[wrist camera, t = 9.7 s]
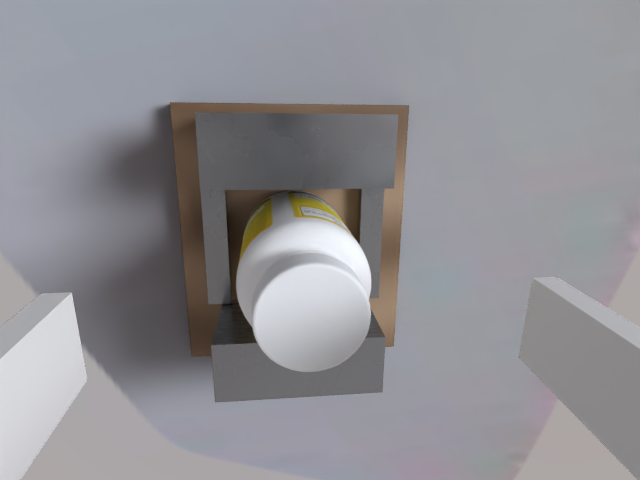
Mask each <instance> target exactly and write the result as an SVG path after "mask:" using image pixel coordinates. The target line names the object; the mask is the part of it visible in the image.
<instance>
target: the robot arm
mask: <svg viewBox="0 0 640 480" xmlns="http://www.w3.org/2000/svg"><path fill="white" fill-rule="evenodd" d="M519 358H520V359H521V360H522V361H523V362H524V363H525V365H526V366H527V367H528V368H529V369H530V370H531V371H532V372H533V373H534V374H535V375H536V376H537V377H538V378H539V379H540V380H541V381H542V382H543V383H544V384H545V385H546V386H547V387H548V388H549V389H550V390H551V391H552V392H553V393H554V394H555V395H556V396H557V397H558V398H559V399H560V400H561V401H562V403H563V404H564V405H565V406H566V407H567V408H568V409H569V410H571V412H572V413H573V414H574V415H575V416H576V417H577V418H578V419H579V420H580V421H581V422H582V423H583V424H584V425H585V426H586V427H587V428H588V429H589V430H590V431H591V432H592V433H593V434H594V435H595V436H596V437H597V438H598V439H599V440H600V442H602V444H603V445H604V446H605V447H607V449H608V450H609V451H610V452H611V453H612V454H613V455H614V456H615V457H616V458H617V459H618V460H619V461H620V462H621V463H622V464H623V465H624V466H625V467H626V468H627V469H628V470H629V471H630V472H631V473H632V474H633V475H634V476H635V477H636V478H637V480H640V327H638V326H637V325H635V324H633V323H632V322H630V321H628V320H627V319H625V318H623V317H622V316H620V315H619V314H617V313H615V312H614V311H612V310H610V309H609V308H607V307H605V306H604V305H602V304H600V303H599V302H597V301H595V300H594V299H592V298H591V297H589V296H587V295H586V294H584V293H582V292H581V291H579V290H577V289H576V288H574V287H572V286H571V285H569V284H567V283H566V282H564V281H562V280H561V279H559V278H558V277H538V278H533V279H532V284H531V290H530V296H529V301H528V307H527V313H526V318H525V324H524V330H523V335H522V341H521V347H520V352H519ZM86 382H87V374H86V369H85V364H84V358H83V352H82V347H81V341H80V336H79V330H78V325H77V319H76V314H75V308H74V303H73V297H72V292H70V293H41V294H40V295H39V296H38V297H36V298H35V299H34V300H33V301H31V302H30V303H29V304H28V305H27V306H25V307H24V308H23V309H22V310H20V311H19V312H18V313H17V314H16V315H14V316H13V317H12V318H11V319H9V320H8V321H7V322H6V323H4V324H3V325H2V326H1V327H0V480H21V478H22V477H23V475H24V474H25V472H26V470H27V469H28V468H29V466H30V465H31V463H32V462H33V460H34V459H35V457H36V456H37V454H38V453H39V451H40V450H41V449H42V447H43V446H44V444H45V443H46V441H47V439H48V438H49V437H50V435H51V434H52V432H53V431H54V429H55V428H56V426H57V425H58V423H59V422H60V420H61V419H62V417H63V416H64V414H65V413H66V411H67V410H68V408H69V407H70V405H71V404H72V402H73V401H74V399H75V398H76V396H77V395H78V394H79V392H80V391H81V389H82V388H83V386H84V384H85V383H86Z"/></svg>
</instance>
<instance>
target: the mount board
mask: <svg viewBox="0 0 640 480" xmlns="http://www.w3.org/2000/svg"><path fill="white" fill-rule="evenodd" d="M170 109H171V121H172V133H173V144H174V156H175V168H176V180H177V191H178V203H179V215H180V227H181V238H182V250H183V262H184V273H185V285H186V297H187V309H188V320H189V332H190V344H191V356H209V355H212V351H211V344H212V340H213V336H214V333H215V329H216V325H217V322H218V318H219V314H220V310H221V307H222V304H208V290H207V275H206V261H205V247H204V233H203V218H202V204H201V190H200V179H199V165H198V151H197V137H196V122H195V112H201V113H299V114H397V115H398V129H397V146H396V163H395V181H394V189H384V204H383V224H382V243H381V263H380V282H379V298H369V303H370V308H371V310H372V312H373V314H374V316H375V318H376V320H377V322H378V324H379V325H380V327H381V329H382V331H383V333H384V335H385V347H392V346H394V333H395V317H396V302H397V286H398V270H399V255H400V239H401V224H402V208H403V192H404V177H405V161H406V146H407V130H408V114H409V105H332V104H252V103H173V102H170ZM285 191H304V192H308V193H311V194H314V195H316V196H318V197H320V198H322V199H323V200H324V201H326V202H327V203H328V204H329V205H330V206H331V207H332V208H333V209H334V210H335V211H336V213H337V214H338V216H339V217H340V218H341V220H342V221H343V222H344V224H345V225H346V227H347V228H348V230H349V231H350V232H351V234H352V235H353V237H354V238H355V239H356V241H357V223H358V194H359V189H284V190H227V205H228V224H229V243H230V262H231V281H232V299H238V298H237V291H236V276H237V269H238V264H239V259H240V253H241V248H242V242H243V235H244V231H245V227H246V224H247V221H248V219H249V217H250V215H251V214H252V212H253V211H254V210H255V208H256V207H257V206H258V205H259V204H260V203H261V202H263V201H264V200H265V199H267V198H269V197H270V196H272V195H274V194H277V193H280V192H285Z"/></svg>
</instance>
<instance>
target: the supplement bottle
mask: <svg viewBox="0 0 640 480" xmlns="http://www.w3.org/2000/svg"><path fill="white" fill-rule="evenodd" d="M236 291H237V298H238V302H239V305H240V307H241V310H242V312H243V314H244V316H245V318H246V319H247V321H248V322H249V324H250V325H251V326H252V328H253V333H254V336H255V339H256V341H257V343H258V345H259V347H260V348H261V350H262V351H263V352H264V353H265V354H266V355H267V356H268V357H269V358H270V359H271V360H272V361H274V362H275V363H277V364H279V365H281V366H282V367H285V368H288V369H290V370H294V371H300V372H317V371H322V370H326V369H329V368H332V367H335V366H337V365H339V364H341V363H342V362H344V361H345V360H347V359H348V358H349V357H351V356H352V355H353V354H354V353H355V352H356V351H357V350H358V348H359V347H360V346H361V344H362V343H363V341H364V340H365V337H366V335H367V333H368V330H369V326H370V320H371V310H370V303H369V297H370V292H371V272H370V268H369V264H368V261H367V259H366V256H365V254H364V252H363V250H362V248H361V247H360V245H359V244H358V242H357V241H356V239H355V238H354V237H353V235H352V234H351V232H350V231H349V230H348V228H347V227H346V225H345V224H344V222H343V221H342V220H341V218H340V217H339V216H338V214H337V213H336V211H335V210H334V209H333V208H332V207H331V206H330V205H329V204H328V203H327V202H326V201H324V200H323V199H322V198H320V197H318V196H316V195H314V194H311V193H308V192H304V191H285V192H280V193H277V194H274V195H272V196H270V197H269V198H267V199H265V200H264V201H263V202H261V203H260V204H259V205H258V206H257V207H256V208H255V210H254V211H253V212H252V214H251V215H250V217H249V219H248V221H247V224H246V227H245V231H244V235H243V242H242V248H241V253H240V259H239V264H238V269H237V276H236Z"/></svg>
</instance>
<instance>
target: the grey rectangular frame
mask: <svg viewBox="0 0 640 480" xmlns="http://www.w3.org/2000/svg"><path fill="white" fill-rule="evenodd" d="M195 122H196V137H197V151H198V165H199V179H200V190H201V204H202V218H203V233H204V247H205V261H206V275H207V290H208V304H222V307H221V310H220V314H219V318H218V322H217V325H216V329H215V333H214V336H213V340H212V344H211V351H212V365H213V379H214V393H215V402H229V401H246V400H262V399H279V398H295V397H311V396H328V395H344V394H361V393H377V392H382V389H383V371H384V354H385V335H384V333H383V331H382V329H381V327H380V325H379V324H378V322H377V320H376V318H375V316H374V314H373V312H372V310H371V308H370V310H371V320H370V326H369V330H368V333H367V335H366V337H365V340H364V341H363V343H362V344H361V346H360V347H359V348H358V350H357V351H356V352H355V353H354V354H353V355H352V356H351V357H349V358H348V359H347V360H345V361H344V362H342V363H341V364H339V365H337V366H335V367H332V368H329V369H326V370H322V371H317V372H300V371H294V370H290V369H288V368H285V367H282V366H281V365H279V364H277V363H275V362H274V361H272V360H271V359H270V358H269V357H268V356H267V355H266V354H265V353H264V352H263V351H262V350H261V348H260V347H259V345H258V343H257V341H256V339H255V336H254V333H253V328H252V326H251V325H250V324H249V322H248V321H247V319H246V318H245V316H244V314H243V312H242V310H241V307H240V305H239V302H238V299H232V281H231V262H230V243H229V224H228V205H227V190H284V189H359V194H358V223H357V242H358V244H359V245H360V247H361V248H362V250H363V252H364V254H365V256H366V259H367V261H368V264H369V268H370V272H371V292H370V297H369V298H379V282H380V263H381V243H382V224H383V204H384V189H394V181H395V163H396V146H397V129H398V115H397V114H299V113H201V112H195Z"/></svg>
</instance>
